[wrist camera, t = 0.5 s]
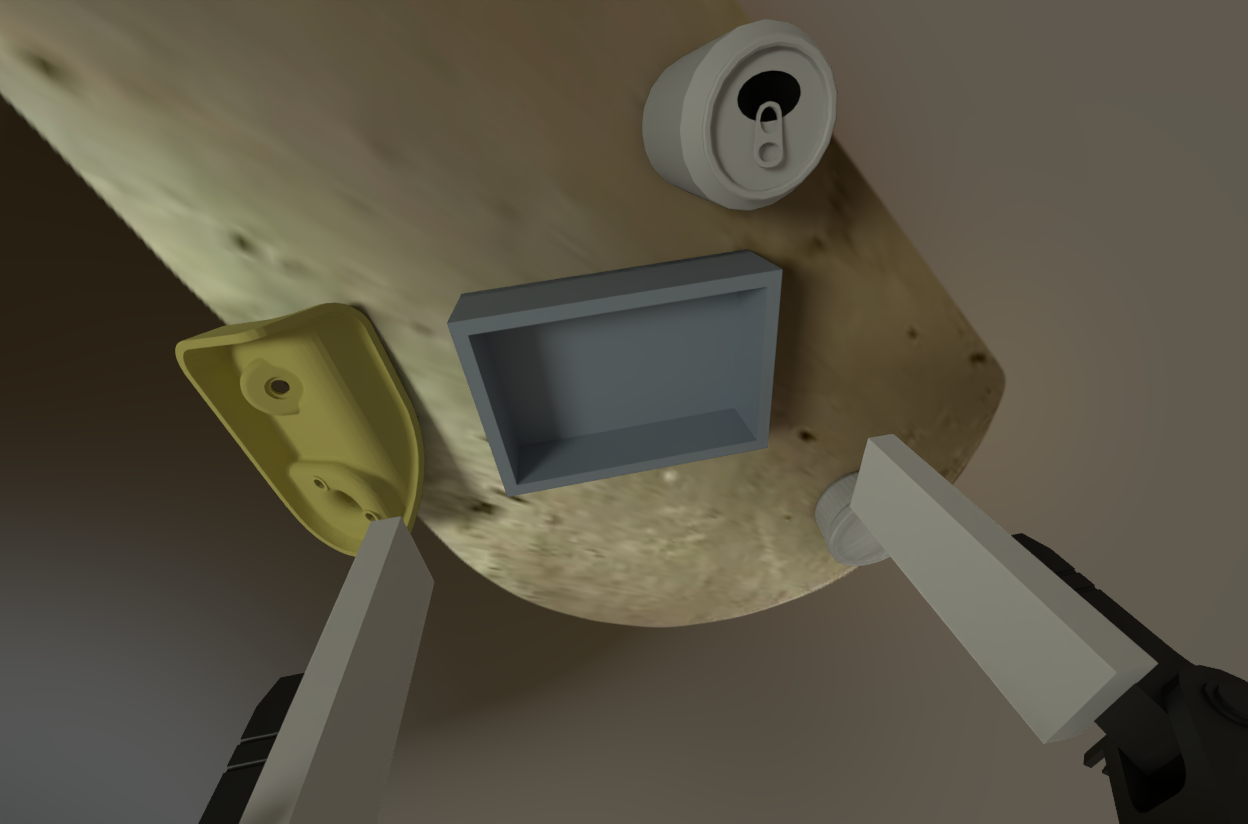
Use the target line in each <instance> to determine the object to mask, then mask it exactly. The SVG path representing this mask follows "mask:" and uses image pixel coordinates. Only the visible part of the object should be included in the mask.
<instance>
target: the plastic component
mask: <svg viewBox="0 0 1248 824" xmlns="http://www.w3.org/2000/svg"><path fill="white" fill-rule="evenodd" d="M175 349H176V357H177V360H178V363H179V365H180V366H181V368H182V370H183V372H184V373H185V375H186V376H187V377H188V378H189V380H190V381H191V383H192V384H193V385H194V387H195V388H196V389H197V390H198V392H199V393H200V394H201V396H202V397H203V398H204V400H205V401H206V402H207V404H208V405H209V406H210V408H211V409H212V410H213V411H214V413H215V414H216V415H217V417H218V418H219V419H220V421H221V422H222V423H223V424H224V426H225V427H226V428H227V430H228V431H229V432H230V433H231V435H232V436H233V438H234V439H235V440H236V442H237V443H238V444H239V445H240V447H241V448H242V449H243V451H244V452H245V453H246V454H247V456H248V457H249V458H250V460H251V461H252V462H253V464H254V465H255V466H256V468H257V469H258V470H259V472H260V473H261V474H262V476H263V477H264V478H265V479H266V481H267V482H268V483H269V485H270V486H271V487H272V489H273V490H274V491H275V492H276V494H277V495H278V496H279V498H280V499H281V500H282V501H283V503H284V504H285V505H286V506H287V508H288V509H289V510H290V511H291V512H292V514H294V516H295V517H296V518H297V519H298V520H299V521H300V522H301V524H303V525H304V527H306V528H307V529H308V530H309V531H310V532H311V533H312V534H313V535H315V536H316V537H317V538H318V539H320V540H321V541H323V542H324V543H326V544H327V545H329V546H330V547H332V548H334V549H336V550H338V551H340V552H342V553H345V554H347V555H350V556H354V557H356V555H357V553H358V550H359V548H360V546H361V544H362V541H363V539H364V537H365V535H366V532H367V530H368V528H369V525H370V523H371V521H377V520H383V519H389V518H394V517H400V516H401V517H402V519H403V521H404V523H405V525H406V527H407V529H408V531H409V533H411V530H412V528H413V525H414V523H415V520H416V516H417V513H418V510H419V506H420V501H421V496H422V490H423V483H424V470H425V461H424V445H423V439H422V433H421V429H420V426H419V422H418V419H417V416H416V413H415V410H414V407H413V405H412V403H411V401H410V399H409V397H408V395H407V393H406V391H405V389H404V387H403V385H402V383H401V381H400V379H399V377H398V375H397V373H396V371H395V369H394V367H393V365H392V364H391V362H390V360H389V358H388V356H387V354H386V352H385V350H384V348H383V346H382V344H381V342H380V340H379V338H378V336H377V334H376V332H375V330H374V328H373V326H372V324H371V322H370V321H369V320H368V319H367V317H366V316H365V315H364V314H363V313H361V312H360V311H358V310H357V309H355V308H353V307H351V306H348V305H346V304H340V303H326V304H320V305H316V306H313V307H311V308H308V309H305V310H302V311H299V312H296V313H293V314H290V315H286V316H282V317H279V318H274V319H270V320H264V321H256V322H249V323H242V324H235V325H228V326H223V327H220V328H217V329H214V330H211V331H209V332H206V333H203V334H200V335H197V336H195V337H192V338H189V339H186V340H183V341H181V342H179V343H178V344H177V346H176V348H175ZM275 380H283V381H285V382H287V383H288V385H289V386H290V390H289V391H286V392H277V391H276V390H275V389H273V387H272V382H273V381H275Z"/></svg>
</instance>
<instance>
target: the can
mask: <svg viewBox="0 0 1248 824" xmlns="http://www.w3.org/2000/svg"><path fill="white" fill-rule="evenodd" d="M837 94H838V92H837V88H836V84H835V79H834V75H833V71H832V67H831V66H830V64H829V63H828V61H827V60H826V58H825V57H824V55H823V53H822V52H821V50H820V49H819V48H818V46H817V45H816V43H815V42H814V40H813V38H811V37H810V36H809V35H807V34H806V33H804V32H803V31H801V30H800V29H798V28H797V27H796V26H794V25H793V24H791V23H786V22H780V21H774V20H767V19H765V20H761V21H758V22H754V23H750V24H746V25H743V26H739V27H737V28H735V29H734V30H732V31H730V32H728V33H726V34H724V35H722V36H721V37H719V38H717V39H715V40H713V41H711V42H709V43H708V44H706V45H704V46H702V47H700V48H698V49H696V50H695V51H693V52H691V53H689V54H687V55H685V56H683V57H682V58H680V59H679V60H677V61H676V62H675V63H673V64H672V65H671V66H669V67H668V68H666V69H665V70H664V71H663V73H662V74H661V76H660V77H659V78H658V80H657V81H656V82H655V84H654V85H653V87H652V88H651V91H650V94H649V96H648V99H647V102H646V105H645V107H644V114H643V124H642V134H643V140H644V146H645V152H646V154H647V156H648V158H649V160H650V162H651V164H652V166H653V168H654V170H655V171H656V172H657V173H658V174H659V175H660V176H661V177H662V178H663V179H664V180H665V181H666V182H668V183H670V184H672V185H674V186H676V187H678V188H680V189H682V190H685V191H687V192H690V193H692V194H694V195H697V196H699V197H702V198H704V199H707V200H709V201H711V202H714V203H716V204H719V205H721V206H724V207H726V208H728V209H739V210H754V209H757V208H761V207H765V206H768V205H772V204H774V203H775V202H777V201H778V200H780V199H781V198H783V197H785V196H786V195H788V194H789V193H791V192H792V191H793V190H794V189H795V188H796V187H797V186H798V185H800V184H801V183H802V182H803V181H804V180H805V179H806V178H807V176H808V175H809V174H810V173H811V172H812V171H813V170H814V169H815V168H816V167H817V165H818V163H819V162H820V160H821V158H822V156H823V154H824V153H825V151H826V149H827V147H828V145H829V143H830V140H831V136H832V133H833V129H834V126H835V122H836V118H837Z"/></svg>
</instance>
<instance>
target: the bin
mask: <svg viewBox="0 0 1248 824" xmlns="http://www.w3.org/2000/svg"><path fill="white" fill-rule="evenodd" d="M782 270H783V269H781V268H779V267H778V266H776V265H774V264H772V263H771V262H769V261H767V260H765V259H764V258H762V257H760V256H758V255H757V254H755V253H753V252H751V251H750V250H748V249H746V250H740V251H734V252H727V253H721V254H715V255H708V256H702V257H695V258H689V259H683V260H676V261H670V262H663V263H657V264H651V265H644V266H638V267H631V268H625V269H619V270H612V271H606V272H599V273H593V274H587V275H580V276H574V277H567V278H561V279H555V280H548V281H542V282H535V283H529V284H523V285H516V286H510V287H503V288H497V289H491V290H484V291H478V292H471V293H465V294H461V296H460V298H459V300H458V302H457V304H456V306H455V308H454V310H453V312H452V314H451V316H450V318H449V320H448V322H447V325H448V328H449V330H450V333H451V336H452V339H453V342H454V345H455V348H456V350H457V353H458V356H459V359H460V362H461V365H462V368H463V371H464V373H465V376H466V379H467V382H468V385H469V388H470V391H471V393H472V396H473V399H474V402H475V405H476V408H477V411H478V413H479V416H480V419H481V422H482V425H483V428H484V431H485V433H486V436H487V439H488V442H489V445H490V448H491V451H492V454H493V456H494V459H495V462H496V465H497V468H498V471H499V474H500V476H501V479H502V482H503V485H504V488H505V491H506V494H507V496H508V497H509V496H515V495H520V494H525V493H531V492H536V491H541V490H547V489H552V488H557V487H562V486H568V485H573V484H578V483H584V482H589V481H594V480H599V479H605V478H610V477H615V476H621V475H626V474H631V473H637V472H642V471H647V470H652V469H658V468H663V467H668V466H674V465H679V464H684V463H689V462H695V461H700V460H705V459H711V458H716V457H721V456H727V455H732V454H737V453H742V452H748V451H753V450H758V449H764V448H768V437H769V425H770V413H771V401H772V389H773V377H774V365H775V354H776V342H777V330H778V318H779V306H780V294H781V282H782Z"/></svg>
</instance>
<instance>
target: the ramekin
mask: <svg viewBox="0 0 1248 824" xmlns="http://www.w3.org/2000/svg"><path fill="white" fill-rule="evenodd" d="M858 474H859V471H857V472H853V473H850V474H848V475H845V476H843V477H841V478H839V479H838V480H836V481H835V482H833V483H832V484H831V485H830V486H829V487H828V488H827V489H826V490H825V491H824V492H823V493H822V495H821V496H820V498H819V500H818V502H817V506H816V509H815V519H816V522H817V524H818V527H819V529H820V531H821V533H822V535H823V537H824V539H825V541H826V546H827V549H828V551H829V553H830V554H831V555H832V557H833V558H834V559H835V560H836V561H837V562H839V563H842V564H845V565H851V566H861V565H868V564H872V563H875V562H879V561H881V560H884V559H886V558H888V557H890V555H889V554H888V553H887V552H886V550H885V549H884V548H883V547H882V545H881V544H880V543H879V542H878V541H877V539H876V538H875V537H874V536H873V534H872V533H871V532H870V531H869V530H868V528H867V527H866V526H865V525H864V523H863V522H862V521H861V520H860V519H859V517H858V516H857V515H856V514H855V512H854V511H853V510H852V509H851V508H850V504H851V500H852V496H853V493H854V489H855V485H856V482H857V478H858Z"/></svg>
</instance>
